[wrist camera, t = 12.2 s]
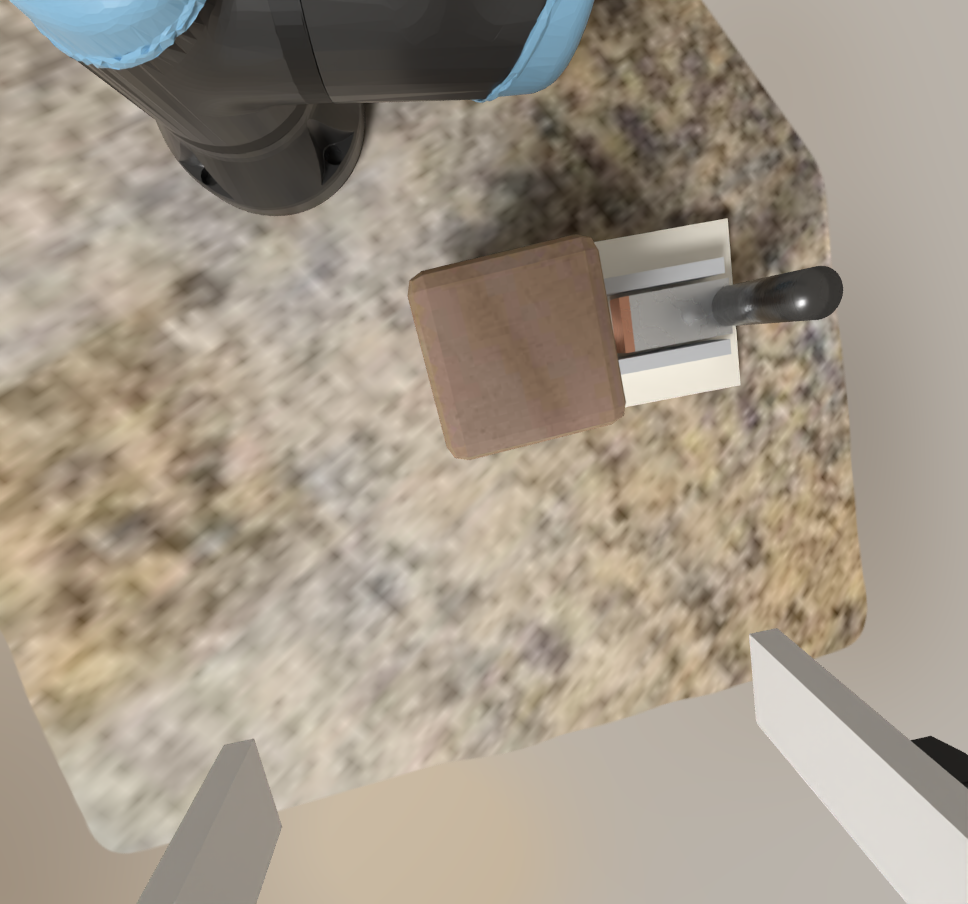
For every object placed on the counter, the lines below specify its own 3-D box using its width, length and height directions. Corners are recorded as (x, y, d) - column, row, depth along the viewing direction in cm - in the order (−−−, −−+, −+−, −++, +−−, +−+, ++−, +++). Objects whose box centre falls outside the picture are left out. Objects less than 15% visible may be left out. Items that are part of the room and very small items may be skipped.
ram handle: (609, 300, 43) (673, 282, 31) (731, 277, 44) (841, 251, 32) (616, 353, 44) (680, 355, 32) (735, 330, 45) (844, 324, 33)
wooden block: (532, 278, 45) (600, 225, 25) (555, 391, 47) (635, 422, 27) (419, 305, 45) (400, 273, 25) (448, 417, 47) (451, 468, 27)
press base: (552, 252, 45) (565, 241, 40) (715, 223, 45) (748, 208, 40) (575, 412, 47) (590, 420, 43) (728, 383, 48) (760, 387, 43)
